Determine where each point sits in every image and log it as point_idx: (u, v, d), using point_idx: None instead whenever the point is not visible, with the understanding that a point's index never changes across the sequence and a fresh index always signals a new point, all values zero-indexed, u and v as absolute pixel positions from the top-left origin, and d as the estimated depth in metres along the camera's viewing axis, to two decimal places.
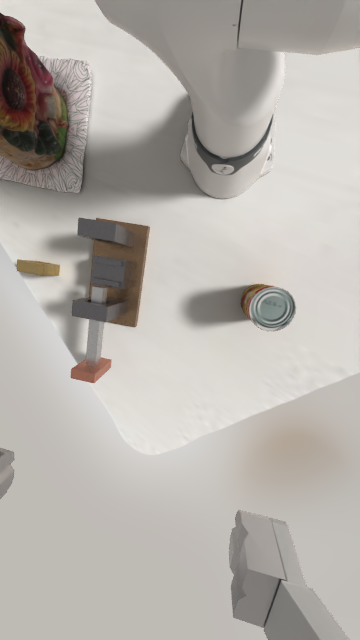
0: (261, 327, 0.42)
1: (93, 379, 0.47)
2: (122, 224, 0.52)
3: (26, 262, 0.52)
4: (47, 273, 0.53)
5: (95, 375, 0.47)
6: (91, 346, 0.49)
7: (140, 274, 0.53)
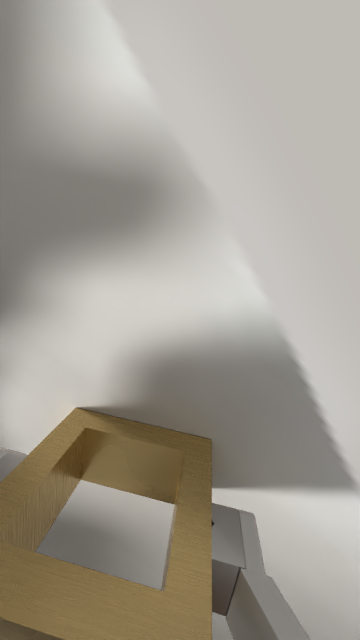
0: None
1: None
2: None
3: None
4: None
5: None
6: None
7: None
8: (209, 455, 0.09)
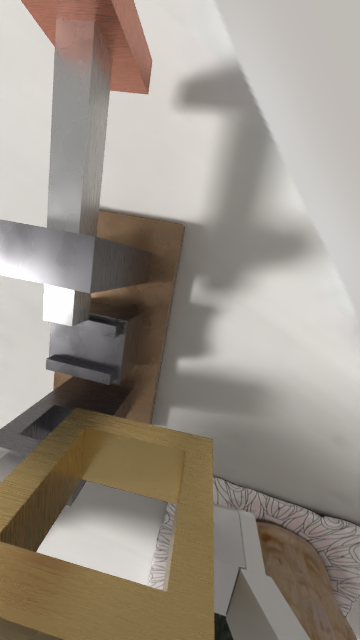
0: None
1: None
2: None
3: None
4: None
5: None
6: (71, 115, 0.13)
7: None
8: (210, 455, 0.09)
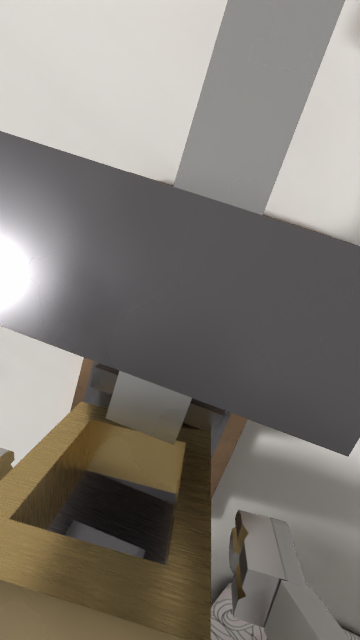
0: None
1: None
2: None
3: None
4: None
5: None
6: None
7: (86, 362, 0.16)
8: (209, 446, 0.09)
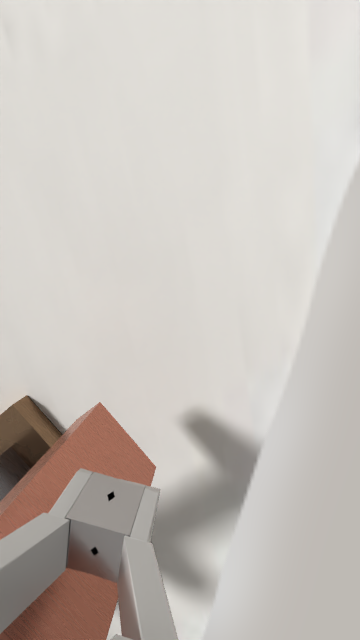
0: None
1: None
2: None
3: None
4: None
5: None
6: None
7: None
8: None
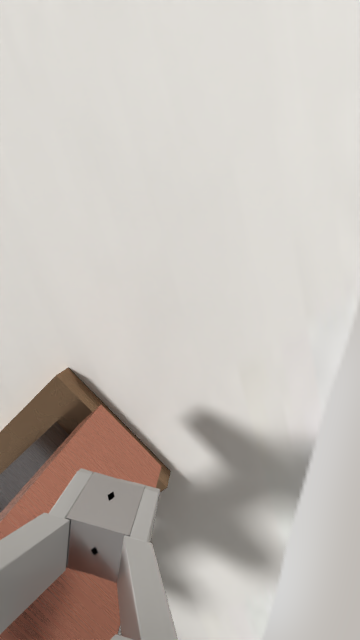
0: None
1: None
2: None
3: None
4: None
5: None
6: None
7: None
8: None
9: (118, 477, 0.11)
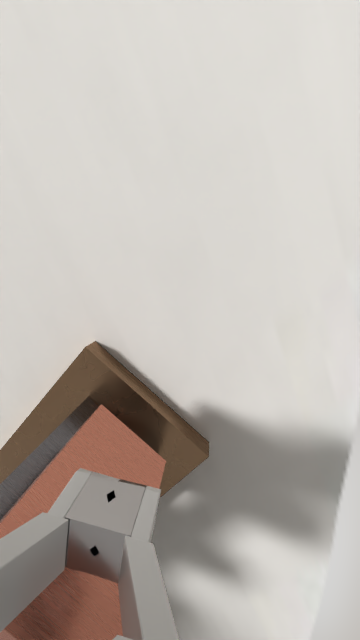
0: None
1: None
2: None
3: None
4: None
5: None
6: None
7: (3, 451, 0.20)
8: None
9: (122, 473, 0.11)
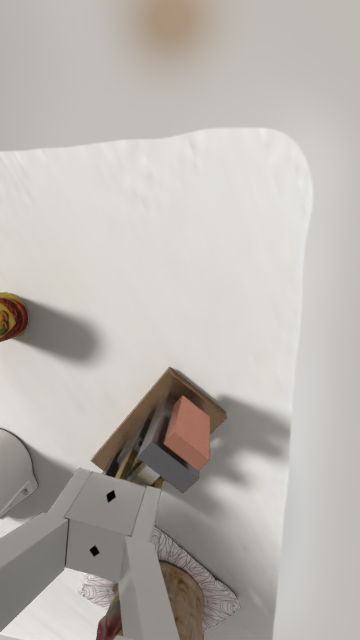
0: None
1: (171, 437, 0.26)
2: None
3: None
4: (120, 472, 0.31)
5: (166, 438, 0.26)
6: None
7: (124, 423, 0.40)
8: None
9: (197, 418, 0.31)
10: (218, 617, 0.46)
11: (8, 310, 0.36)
